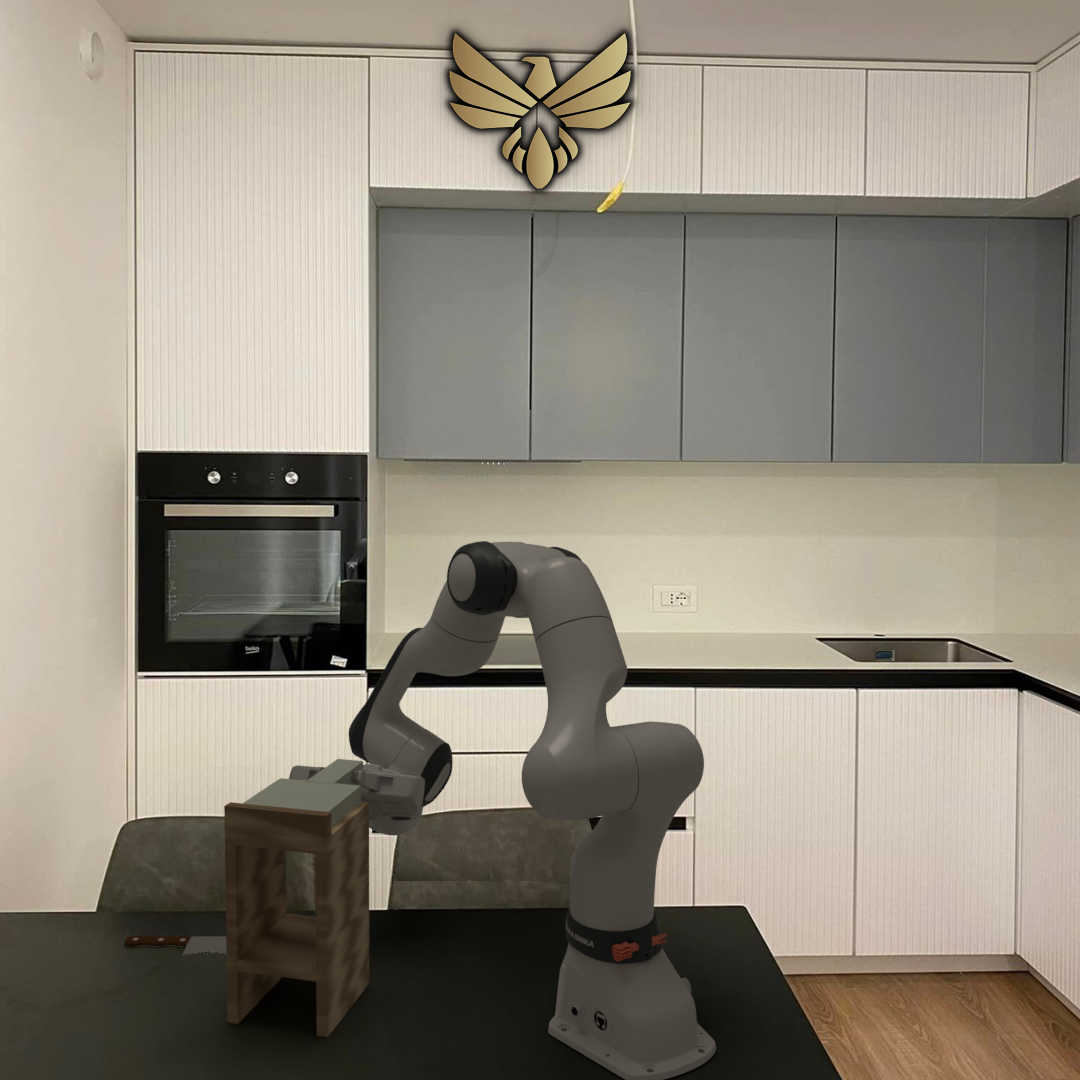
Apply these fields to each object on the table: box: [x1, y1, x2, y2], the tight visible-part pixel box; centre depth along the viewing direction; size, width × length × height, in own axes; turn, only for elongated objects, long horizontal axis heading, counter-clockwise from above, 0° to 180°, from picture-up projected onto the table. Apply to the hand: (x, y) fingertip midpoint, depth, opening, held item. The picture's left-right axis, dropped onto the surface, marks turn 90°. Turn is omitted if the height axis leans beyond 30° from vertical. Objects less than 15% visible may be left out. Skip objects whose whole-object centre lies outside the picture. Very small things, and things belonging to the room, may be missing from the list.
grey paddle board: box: [242, 758, 364, 828], centre depth 147 cm, size 22×12×2 cm, turn 167°
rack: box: [223, 802, 370, 1038], centre depth 143 cm, size 14×14×29 cm
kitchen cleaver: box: [124, 935, 226, 957], centre depth 158 cm, size 24×1×10 cm
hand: (338, 774), depth 154 cm, fingers closed on grey paddle board, 4 cm apart
